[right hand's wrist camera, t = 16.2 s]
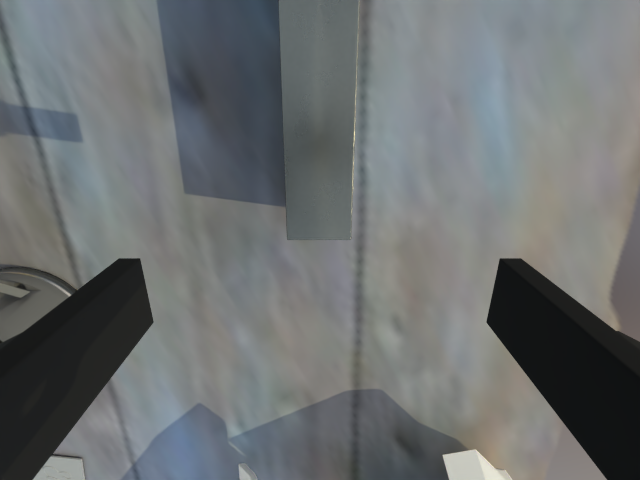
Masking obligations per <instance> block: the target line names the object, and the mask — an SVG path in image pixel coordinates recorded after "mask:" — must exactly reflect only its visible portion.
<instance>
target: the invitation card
mask: <svg viewBox="0 0 640 480" xmlns="http://www.w3.org/2000/svg"><path fill="white" fill-rule="evenodd" d="M33 480H85V476H84V469H83V462H82V458H72V457H62V456H52V455H51V457H50V458H49V459H48V461H47V462H46V463H45V464H44V466H43V467H42V468H41V470H40V471H39V472H38V474H37V475H36V476H35V477H34V479H33Z"/></svg>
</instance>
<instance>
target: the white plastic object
mask: <svg viewBox="0 0 640 480" xmlns="http://www.w3.org/2000/svg"><path fill="white" fill-rule="evenodd" d="M443 459H444V462H445V466H446V470H447V473H448V477H449V480H512V478H511V477H510V476H509V474H508V473H507V472H506V471H505V470H504V469H498V468H494V467H493V466H492V465H491V464H490V463H489V462H488V461H487V460H486V459H485V458H484V457H483V456H482V455H481V454H480V453H479V452H478V451H477V450H476V449H475V450H469V451H463V452H457V453H451V454H445V455H443ZM238 466H239V476H240V480H258V479H257V477H256V474H255V473H254V472H253V471H252V470H251V469H250V468H249V467H248V466H247V465H246V464H245V463H244V464H238Z"/></svg>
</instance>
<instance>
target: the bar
mask: <svg viewBox="0 0 640 480" xmlns="http://www.w3.org/2000/svg"><path fill="white" fill-rule="evenodd" d="M278 5H279V32H280V59H281V86H282V113H283V140H284V167H285V194H286V221H287V240H351V228H352V201H353V173H354V145H355V117H356V90H357V62H358V34H359V6H360V0H278Z"/></svg>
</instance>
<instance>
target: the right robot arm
mask: <svg viewBox="0 0 640 480" xmlns="http://www.w3.org/2000/svg"><path fill="white" fill-rule="evenodd" d="M152 324H153V317H152V313H151V308H150V303H149V299H148V294H147V289H146V284H145V280H144V275H143V270H142V265H141V261H140V259H118V260H117V261H115V262H114V263H113V264H111V265H110V266H109V267H107V268H106V269H105V270H103V271H102V272H101V273H100V274H98V275H97V276H96V277H94V278H93V279H92V280H90V281H89V282H88V283H86V284H85V285H84V286H82V287H81V288H80V289H79V290H77V291H76V290H75V289H74V288H73V287H71V286H70V285H69V284H67V283H66V282H64V281H63V280H61V279H59V278H57V277H55V276H53V275H51V274H48V273H45V272H42V271H39V270H35V269H30V268H19V267H15V268H5V269H0V480H33V479H34V477H35V476H36V475H37V474H38V472H39V471H40V470H41V468H42V467H43V466H44V464H45V463H46V462H47V461H48V459H49V458H50V457H51V455H52V454H53V453H54V451H55V450H56V449H57V447H58V446H59V445H60V444H61V442H62V441H63V440H64V438H65V437H66V436H67V434H68V433H69V432H70V431H71V429H72V428H73V427H74V425H75V424H76V423H77V421H78V420H79V419H80V417H81V416H82V415H83V414H84V412H85V411H86V410H87V408H88V407H89V406H90V404H91V403H92V402H93V401H94V399H95V398H96V397H97V395H98V394H99V393H100V391H101V390H102V389H103V387H104V386H105V385H106V384H107V382H108V381H109V380H110V378H111V377H112V376H113V374H114V373H115V372H116V371H117V369H118V368H119V367H120V365H121V364H122V363H123V361H124V360H125V359H126V357H127V356H128V355H129V354H130V352H131V351H132V350H133V348H134V347H135V346H136V344H137V343H138V342H139V341H140V339H141V338H142V337H143V335H144V334H145V333H146V331H147V330H148V329H149V327H150V326H151V325H152ZM487 324H488V325H489V326H490V327H491V329H492V330H493V331H494V333H495V334H496V335H497V337H498V338H499V339H500V341H501V342H502V343H503V344H504V346H505V347H506V348H507V350H508V351H509V352H510V354H511V355H512V356H513V357H514V359H515V360H516V361H517V363H518V364H519V365H520V367H521V368H522V369H523V371H524V372H525V373H526V374H527V376H528V377H529V378H530V380H531V381H532V382H533V384H534V385H535V386H536V387H537V389H538V390H539V391H540V393H541V394H542V395H543V397H544V398H545V399H546V401H547V402H548V403H549V404H550V406H551V407H552V408H553V410H554V411H555V412H556V414H557V415H558V416H559V417H560V419H561V420H562V421H563V423H564V424H565V425H566V427H567V428H568V429H569V430H570V432H571V433H572V434H573V436H574V437H575V438H576V440H577V441H578V442H579V443H580V445H581V446H582V447H583V449H584V450H585V451H586V453H587V454H588V455H589V457H590V458H591V459H592V461H593V462H594V463H595V464H596V466H597V467H598V468H599V470H600V471H601V472H602V474H603V475H604V476H605V477H606V479H607V480H640V342H639V341H637V340H635V339H633V338H631V337H629V336H627V335H625V334H623V333H621V332H619V331H615V330H614V329H613V328H611V327H610V326H609V325H607V324H606V323H605V322H603V321H602V320H601V319H599V318H598V317H597V316H595V315H594V314H593V313H592V312H590V311H589V310H588V309H586V308H585V307H584V306H582V305H581V304H580V303H578V302H577V301H576V300H575V299H573V298H572V297H571V296H569V295H568V294H567V293H565V292H564V291H563V290H561V289H560V288H559V287H558V286H556V285H555V284H554V283H552V282H551V281H550V280H548V279H547V278H546V277H544V276H543V275H542V274H540V273H539V272H538V271H537V270H535V269H534V268H533V267H531V266H530V265H529V264H527V263H526V262H525V261H523V260H522V259H500V261H499V265H498V270H497V275H496V280H495V284H494V289H493V294H492V299H491V303H490V308H489V313H488V317H487Z"/></svg>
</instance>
